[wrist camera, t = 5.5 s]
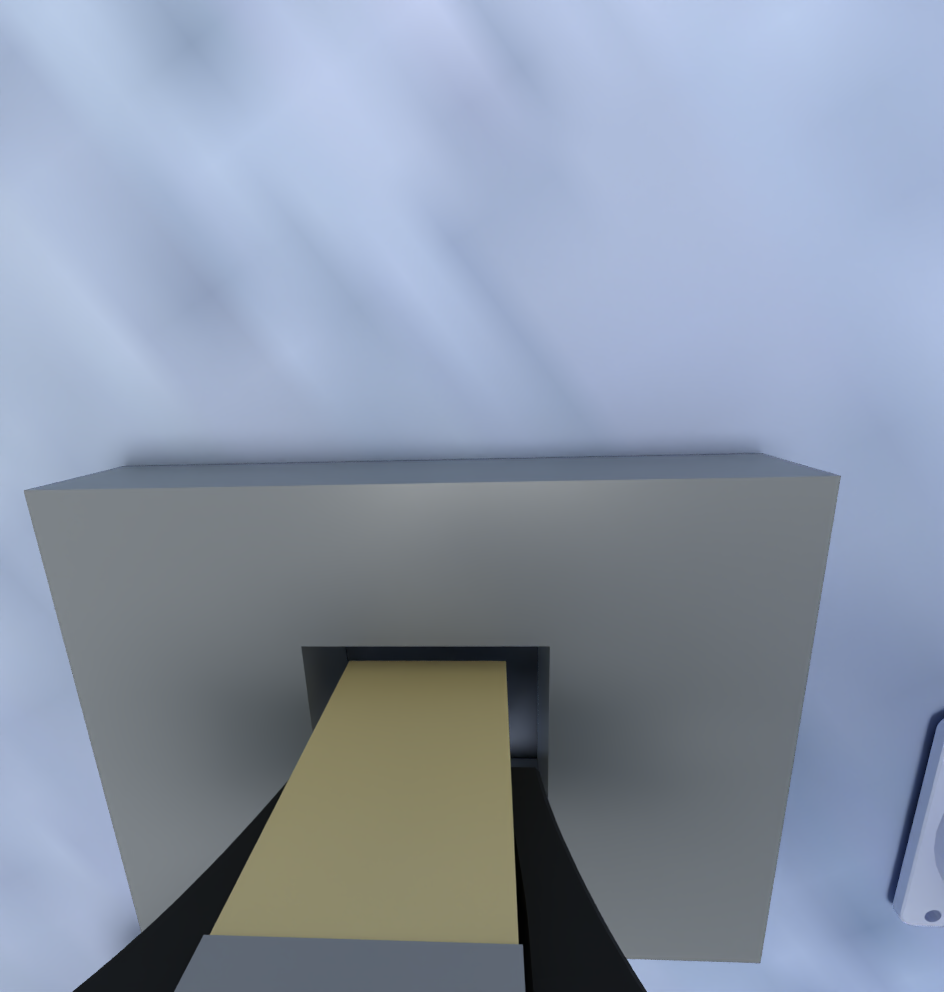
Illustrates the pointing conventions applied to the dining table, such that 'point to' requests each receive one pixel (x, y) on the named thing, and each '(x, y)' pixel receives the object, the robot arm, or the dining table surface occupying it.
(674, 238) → the dining table surface
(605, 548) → the socket plate
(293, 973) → the plug
